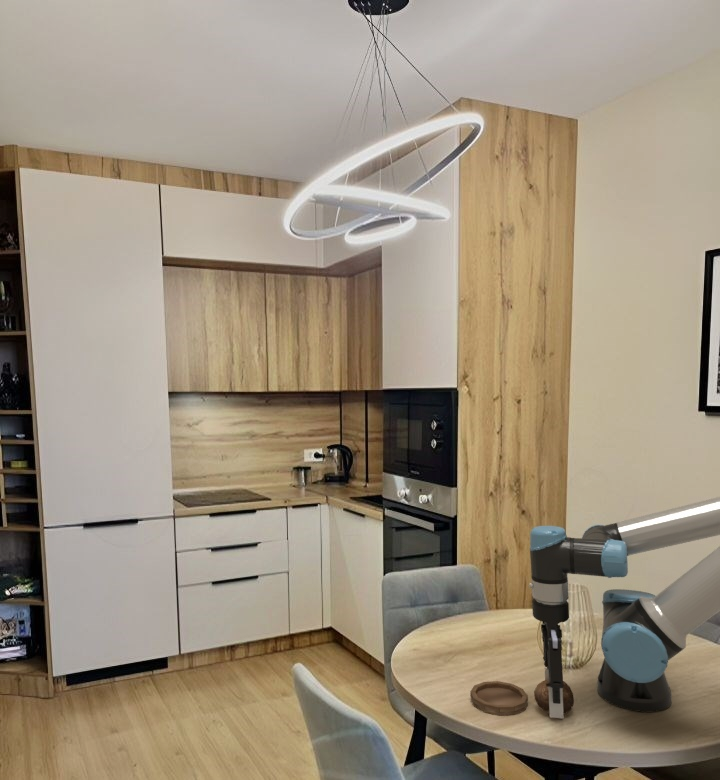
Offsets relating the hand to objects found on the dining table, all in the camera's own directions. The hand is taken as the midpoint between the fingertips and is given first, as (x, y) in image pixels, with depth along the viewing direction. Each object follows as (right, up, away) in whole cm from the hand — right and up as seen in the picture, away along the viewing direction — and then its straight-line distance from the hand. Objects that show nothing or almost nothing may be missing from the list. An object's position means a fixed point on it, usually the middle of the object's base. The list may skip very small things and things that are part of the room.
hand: (554, 707), depth 129 cm
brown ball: (0, -1, 0) cm, 1 cm away
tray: (-11, -1, +4) cm, 12 cm away
